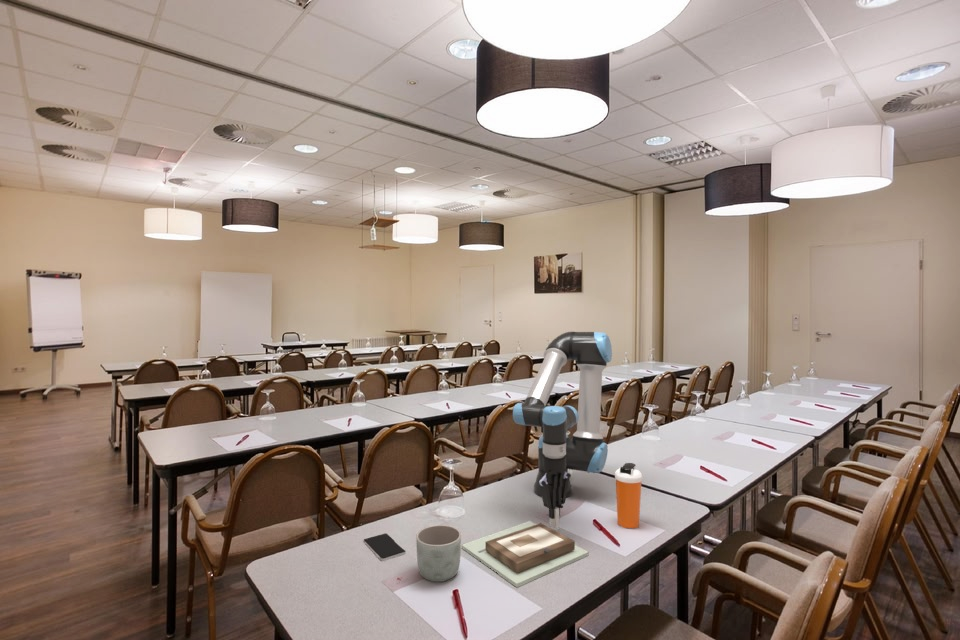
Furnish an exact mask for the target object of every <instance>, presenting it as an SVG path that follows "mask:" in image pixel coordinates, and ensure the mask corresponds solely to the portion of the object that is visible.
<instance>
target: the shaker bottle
mask: <svg viewBox="0 0 960 640" xmlns="http://www.w3.org/2000/svg"><path fill="white" fill-rule="evenodd" d="M635 467H636V464H635V463H633V462H625V463H624V464H623V465H622V466H620V467H619V468H618V469H616V471H615V472H614V479H615V491H616V494H615V495H616V496H615V497H616V519H617V525H618V526H620V527H621V528H624V529H630V528H632V529H637V528H639V526H640V515H641V496H642V482H643V474H642V473H641V471H640V470H639V469H637V468H635Z"/></svg>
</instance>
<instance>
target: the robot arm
mask: <svg viewBox="0 0 960 640" xmlns="http://www.w3.org/2000/svg"><path fill="white" fill-rule="evenodd" d="M544 350H545V351H544V353H543V358H544V359H543V361H542V363H541V366H540V368H539V369H538V372H537V374H536V376H535V379H534V381H533V383H532V385H531V387H530V390H529V391H528V393H527V396H526V398H525V400H524V402H517V403H516V404H515V405H514V407H513V409H512V419H513V421H514V423H515V424H517V425H521V426H529V427H536V428H537V427H538V428H542V435H540V437H539V438H538V446H537V448H538V453H537V454H538V472H537V475H536V480H535V482H534V485H533V492H534V493H535V494H536V495H537V496H539V497H541V498H542V505H543V507H545V508H547V509H548V518H549V526H550V528H551V529H552V528H553V530H558V529H560V517H561V509H562V508H564V505H565V504H566V500H567V498H568V497H571V496H572V495H573V486H572V485H573V484H571V477H572V474H571V473H569V472H568V471H569V470H572V471H573V470H574V471H579V472H584V473H585V472H586V473H589V474H591V473H592V474H599V473H601V472H602V471H603V469H604V468H605V465H606V462H607V458H608V444H607V443H606V442H604V436H602V434H601V433H600V428H601V403H602V387H603V386H602V384H603V382H602V381H603V371H604V370H605V369H606V368H607V365H608V363H611V361H612V357H613V350H612V344H611V339H610V336H608V334H607V333H605V332H599V331H567V332H563V333H561V334H560V335H558V336H557V337H555V338H554V339H553V340H552V341H551V342H550V343H548V345H547V347H546V348H545V349H544ZM569 361H575V362H576V366H577V367H578V369H579V384H578V385H579V386H578V404H577V405H578V406H577V407H578V408H577V409H576V408H575V407H573V406H571V405H562V406H561V405H559V406H558V405H547V403H548V401H549V399H550V396H551V394H552V392H553V389H554V386H555V384H556V382H557V379H558V377H559V375H560V373H561V370H562V367H564V366H566V364H567V363H568V362H569ZM575 426H576V431H575V432H574V433H573V434H572V438H571V437H570V438H569V434H568V433H567V432H568V431H569V430H571V429H573V428H574V427H575Z"/></svg>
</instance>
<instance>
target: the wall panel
mask: <svg viewBox="0 0 960 640" xmlns="http://www.w3.org/2000/svg"><path fill="white" fill-rule="evenodd" d="M534 525H537V524H536V523H534V522H532V521H531V520H528V521H526V522H523V523H519V524H518V525H513V526H512V527H509V528H506V529H503V530H500V531H497V532H494V533H492V534H488V535H486V536H483V537H481V538H477V539H475V540H472V541H469V542H466V543H464V544H461V550H464V551H465V552H466V553H467V554H469V555H471V556H472V557H474V558H475V559H476V560H478V561H479V562H480V561H481V562H480V563H482V564H483V565H485V567H487V566H488V567H487V568H489V569H490V568H491V569H490V570H491V571H493V570H494V571H495V572H494V571H493V572H494V573H496V572H497V573H498V574H497V573H496V574H497V575H498V576H500V577H501V576H502V577H501V578H502V579H504V580H505V581H507V582H509V584H511V585H513V586H514V587H515V588H519V587H522V586H523V585H526V584H528V583H530V582H532V581H535V580H537V579H538V578H541V577H544V576H546V575H548V574H551V573H552V572H554V571H557V570H559V569H561V568H563V567H565V566H568V565H570V564H572V563H575V562H577V561H579V560H581V559H584V558H586V557H588V556H589V551H587V550H585V549H584V548H582V547H580V546H578V545H576V544H575V550H572V551H570V552H568V553H565V554H563V555H560V556H558V557H555V558H553V559H550V560H548V561H545V562H543V563H540V564H538V565H535V566H533V567H530V568H528V569H525V570H523V571H520V572H518V573H517V572H516V571H514V570H513V569H511V568H510V567H509V566H507V565H506V564H504V563H503V562H502V561H500V560H499V559H497V558H496V557H494V556H493V555H492V554H490V553H489V552H487V551H486V542H487V541H490V540H492V539H495V538H498V537H501V536H504V535H507V534H510V533H513V532H516V531H519V530H522V529H525V528H528V527H531V526H534Z"/></svg>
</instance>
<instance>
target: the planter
mask: <svg viewBox="0 0 960 640" xmlns="http://www.w3.org/2000/svg"><path fill="white" fill-rule="evenodd" d="M415 539H416V540H415V542H416V543H415V544H416V557H417V562H416V563H417V569H418V572H419V573H420V576H422V577H423V578H424V579H426V580H427V581H431V582H434V583H435V582H436V583H437V582H438V583H440V582H444V581H445V582H446V581H447V580H450V579H452V578H454V577H455V576H456V575H457V573H458V572H459V569H460V564H461V551H462V532H461V531H460V530H459V528H456V527H454V526H452V525H445V524H444V525H443V524H434V525H430V526H427V527H424V528H422V529H420V530H419V531H418V532H417V534H416V537H415Z"/></svg>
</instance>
